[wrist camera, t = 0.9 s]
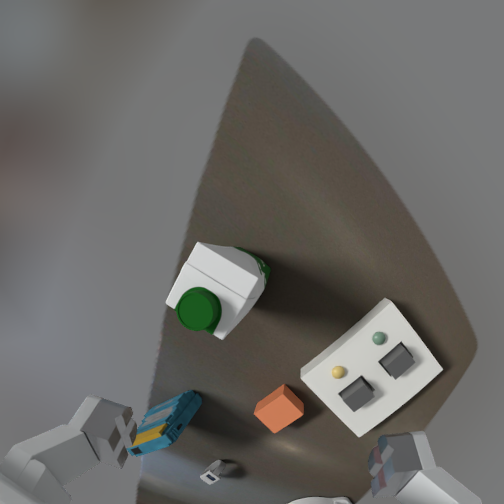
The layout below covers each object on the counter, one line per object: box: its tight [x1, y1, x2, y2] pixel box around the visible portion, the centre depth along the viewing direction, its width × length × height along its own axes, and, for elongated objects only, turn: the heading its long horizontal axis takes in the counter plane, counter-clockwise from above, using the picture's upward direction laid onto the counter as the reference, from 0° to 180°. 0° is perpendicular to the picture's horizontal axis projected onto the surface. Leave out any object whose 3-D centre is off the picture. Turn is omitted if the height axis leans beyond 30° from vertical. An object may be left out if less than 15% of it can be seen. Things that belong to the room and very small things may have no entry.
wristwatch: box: [200, 460, 226, 485], centre depth 49 cm, size 6×3×5 cm, turn 138°
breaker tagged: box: [341, 376, 375, 412], centre depth 43 cm, size 3×4×4 cm
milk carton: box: [166, 242, 271, 340], centre depth 40 cm, size 9×9×20 cm
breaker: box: [380, 343, 415, 380], centre depth 42 cm, size 3×4×4 cm
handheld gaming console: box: [127, 390, 202, 457], centre depth 45 cm, size 10×4×15 cm, turn 124°
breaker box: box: [301, 298, 443, 437], centre depth 44 cm, size 16×18×5 cm
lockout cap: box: [254, 384, 304, 433], centre depth 47 cm, size 5×6×4 cm
